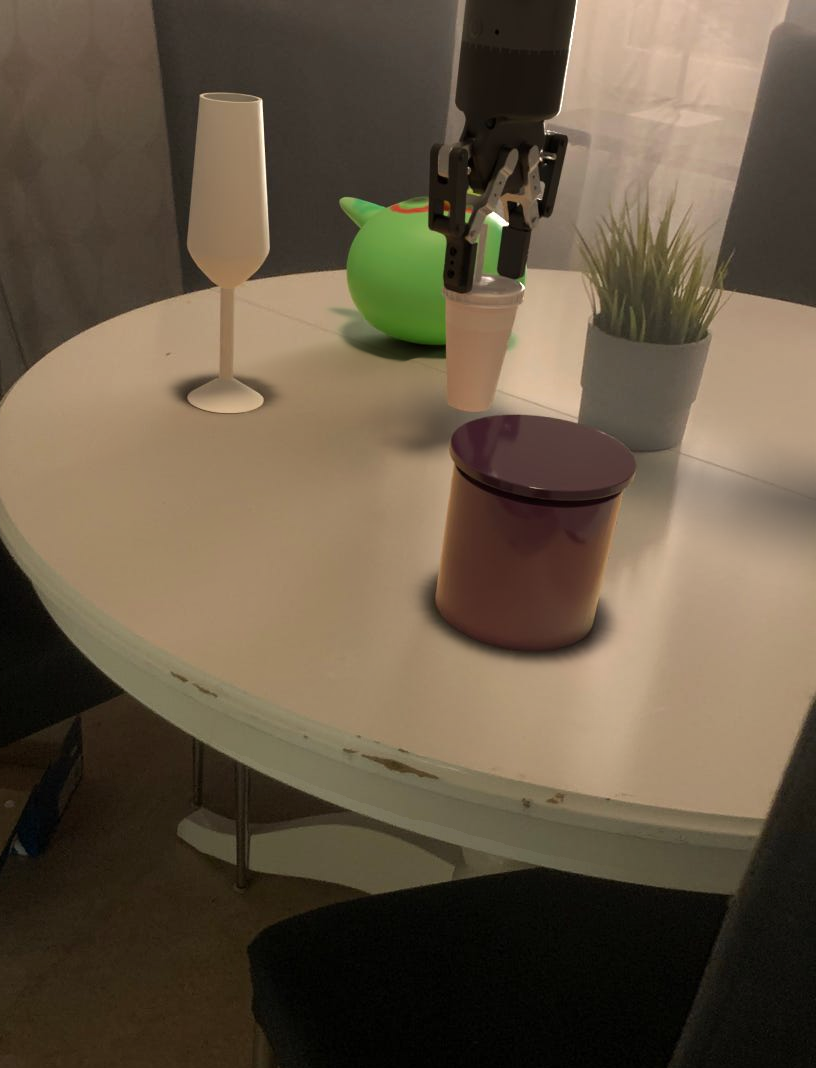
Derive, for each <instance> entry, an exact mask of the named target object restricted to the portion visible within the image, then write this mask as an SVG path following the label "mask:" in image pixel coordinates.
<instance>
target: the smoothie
mask: <svg viewBox="0 0 816 1068" xmlns="http://www.w3.org/2000/svg"><path fill="white" fill-rule="evenodd" d="M487 230H488V224H483V225H482V228H481V231H480V235H479V243H478V251H477V260H476V268H475V273H474V278H473V286H472V290H471V291H470V292H468V293H464V294H460V293H456V292H453V291H450V290H447V289H446V288H445V287H444V281H443V290H442V293H441V294H442V295H443V297H444V298H445V300H446V314H445V319H446V345H445V363H446V364H445V367H446V368H445V369H446V371H445V372H446V375H445V376H446V403H447V404H448V406H449V407H451V408H453V409H456V410H459V411H464V412H473V413H475V412H484V411H488V410H489V409H491V408H492V406H493V403H494V400H495V395H496V391H497V387H498V384H499V380H500V376H501V372H502V369H503V365H504V362H505V357H506V354H507V350H508V346H509V343H510V338H511V336H512V331H513V326H514V323H515V321H516V317H517V312H518V308H519V306H520V305H522V304H523V303H524V301H525V296H524V295H525V288H526V287H525V288H524V286H523V285H522V284H521V283H519V282H518V281H516V280H513V279H511V278H508V277H504V276H499V275H494V274H486V273H482V271H483V262H484V254H485V246H486V238H487Z"/></svg>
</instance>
